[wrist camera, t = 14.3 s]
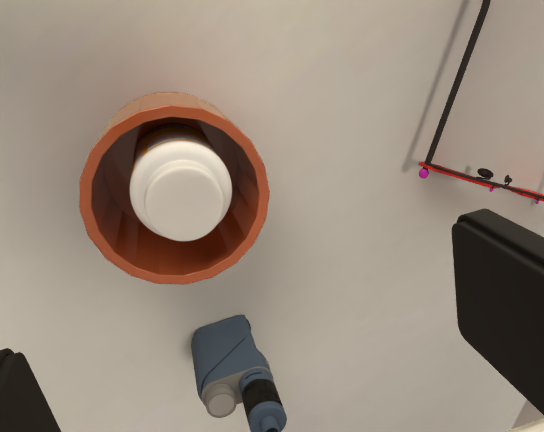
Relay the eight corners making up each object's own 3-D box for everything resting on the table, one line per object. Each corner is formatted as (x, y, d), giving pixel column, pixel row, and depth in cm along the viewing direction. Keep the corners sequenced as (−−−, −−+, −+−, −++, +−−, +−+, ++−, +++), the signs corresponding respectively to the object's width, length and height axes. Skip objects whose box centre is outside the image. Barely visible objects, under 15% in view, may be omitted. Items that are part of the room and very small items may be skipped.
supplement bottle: (180, 215, 35) (191, 276, 26) (116, 166, 33) (102, 214, 24) (231, 156, 35) (261, 197, 25) (169, 103, 33) (177, 126, 23)
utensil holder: (64, 173, 33) (37, 212, 26) (162, 58, 33) (166, 63, 25) (180, 259, 37) (188, 315, 30) (271, 158, 36) (304, 189, 29)
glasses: (401, 168, 39) (434, 185, 35) (480, -54, 35) (530, -69, 30) (537, 204, 43) (583, 223, 39) (623, 9, 39) (686, 4, 34)
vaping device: (256, 335, 41) (296, 442, 30) (195, 356, 40) (212, 473, 29) (249, 309, 40) (287, 410, 29) (186, 330, 39) (200, 441, 28)
